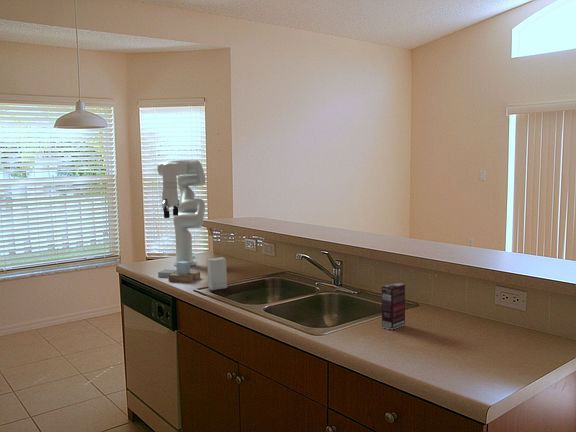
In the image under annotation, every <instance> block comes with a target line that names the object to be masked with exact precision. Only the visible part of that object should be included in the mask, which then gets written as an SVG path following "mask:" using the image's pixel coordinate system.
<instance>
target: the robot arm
mask: <svg viewBox="0 0 576 432" xmlns="http://www.w3.org/2000/svg"><path fill="white" fill-rule="evenodd" d="M156 170H157V173H158V175H159V176H162V194H161V195H162V196H161V207H162V211H163V218H164V219H170V214H171V213H170V208H172V207H173V208H172V216H173V218H172V219H173V226H174V235H175V257H176V258H175V259H176V261H175V262H174V263H173V266H174V265H175V267H177V266H176V263H177V262H180V261H189V262H190V267H191V266H194V265H196V262H195V261H194V259H196V256H195V255H193V237H192V233H191V232H190V231H189V229H200V228H202V227H203V225H204V217H205V212H206V204H205V201H204V199H202V198H195V197H196V196H195V195H196V194H195V192H194V191H193V190H192V188H191V187H200V186H201V187H202V186H204V185H205V184H206V181H207V180H206V175H205V174H206V173H205V172H204V168H203V164H202V163H201V161H199V160H198V159H182V160H171V161H161V162H159V163H158V164H157V169H156ZM178 187H179V192H180V197H179V195H178Z"/></svg>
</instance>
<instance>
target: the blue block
mask: <svg viewBox="0 0 576 432" xmlns="http://www.w3.org/2000/svg"><path fill="white" fill-rule="evenodd" d="M175 267H176V270H177V274H183V275H186V274H188V273H190V271H191V266H190V262H189V261H180V262H177V263H176V266H175Z"/></svg>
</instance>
